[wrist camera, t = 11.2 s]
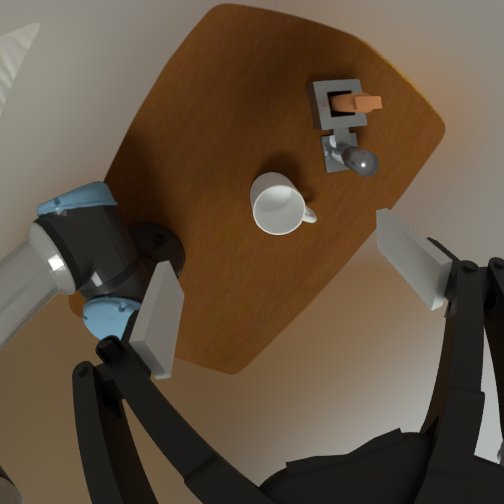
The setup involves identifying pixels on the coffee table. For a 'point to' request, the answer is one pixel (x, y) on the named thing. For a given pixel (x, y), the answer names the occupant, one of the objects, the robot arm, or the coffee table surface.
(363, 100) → the wedge pin
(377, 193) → the coffee table surface
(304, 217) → the cup
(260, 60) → the coffee table surface
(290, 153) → the coffee table surface
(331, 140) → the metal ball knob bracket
